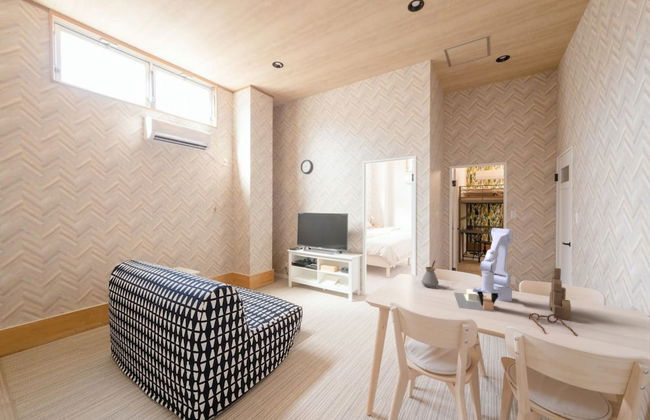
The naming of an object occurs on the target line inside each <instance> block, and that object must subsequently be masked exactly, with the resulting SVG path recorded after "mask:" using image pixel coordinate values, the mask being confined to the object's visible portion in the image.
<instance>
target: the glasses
mask: <svg viewBox="0 0 650 420" xmlns="http://www.w3.org/2000/svg"><path fill="white" fill-rule="evenodd" d="M533 315H537V318H536V319H535V318H534V317H532V316H533ZM553 316H556V317H557V318H555V320H553V321H552V320H550V317H553ZM540 318H546V320H547V322H549V323H556V322H557V321H559V322H560V323H562V325H563V326H565V327H566V328H567V329H569V330H570V331H571V333H572V334H573V336H575V337H577V334H576V333H575V331H574V330H573V328H571V327H570V326H569V325H567V324H566V323H565V322H564V320H563V319H560V318H558V316H557V315H555V314H553V313H552V314H549V315H543V314H541V315H540V314H538V313H536V312H533V313H530V314H529V315H528V319H529V320H532V321H533V322H534V323H535V324H536V325H537V326H539V327H540V328H541V330H542V332H543V333H544V334H545V335H547V332H546V331H545V329H544V327H543V326H542V325H541V324H539V323H538V321H539V319H540Z"/></svg>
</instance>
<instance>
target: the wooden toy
mask: <svg viewBox="0 0 650 420" xmlns="http://www.w3.org/2000/svg"><path fill="white" fill-rule="evenodd" d="M561 273H562V268H557V267H554V269H553V271H552V274H551V285H550V286H551V288H550V292H549V300H548V301H549V305H548V306H549V307H548V308H549V310H550V311H551V312H552V314H555V315H557V316H558V318H560V319H561V320H562V321H571V315H572V304H571V300H569V299H566V294H567V292H566V291H567V288H566V287H564V286H563V285H562V279H561V278H562V277H561V275H562V274H561ZM552 317H553V319H556V318H557V317H556V316H552Z"/></svg>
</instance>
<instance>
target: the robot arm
mask: <svg viewBox="0 0 650 420" xmlns="http://www.w3.org/2000/svg"><path fill="white" fill-rule="evenodd" d="M490 236H491V238H492V242H491V245H490V249H487V251H486V254H485V256H484V259H483V260H481V262H480V265H479V266H480V268H479V269H480V274H481V287H472V289H473V292H476V293H477V295H479V298H480V302H481V305H482V306H483V296H485V295H484V293H485V294H490V295H491V297H490V299H491V300H492V302H493V303H494V304H495V303H496V301H501V302H512V301H513V299H512V298H513V290H512V287H511V283H512V278H511V274H510V272H508V271H507V269H506V268H507V260H508V249H509V244H512V242H513V238H514V237H513V236H514V232H513V230H512V229H511V228H498V227H492V228H491V231H490Z"/></svg>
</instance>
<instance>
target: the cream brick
mask: <svg viewBox="0 0 650 420" xmlns="http://www.w3.org/2000/svg"><path fill="white" fill-rule="evenodd" d="M465 294H466V295H467V298H468V300H474V301H477V295H478V293H477V292H473V288H472V289H471V288H466V292H465Z"/></svg>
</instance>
